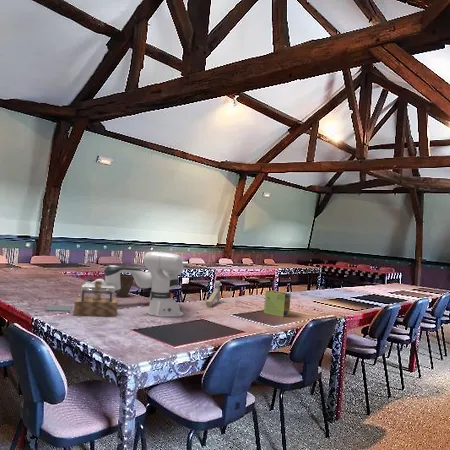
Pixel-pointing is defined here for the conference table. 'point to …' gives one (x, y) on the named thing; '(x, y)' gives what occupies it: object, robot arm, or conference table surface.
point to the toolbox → (95, 305)
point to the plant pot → (125, 285)
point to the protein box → (277, 303)
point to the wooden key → (97, 287)
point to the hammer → (214, 295)
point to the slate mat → (58, 308)
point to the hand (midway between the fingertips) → (97, 291)
